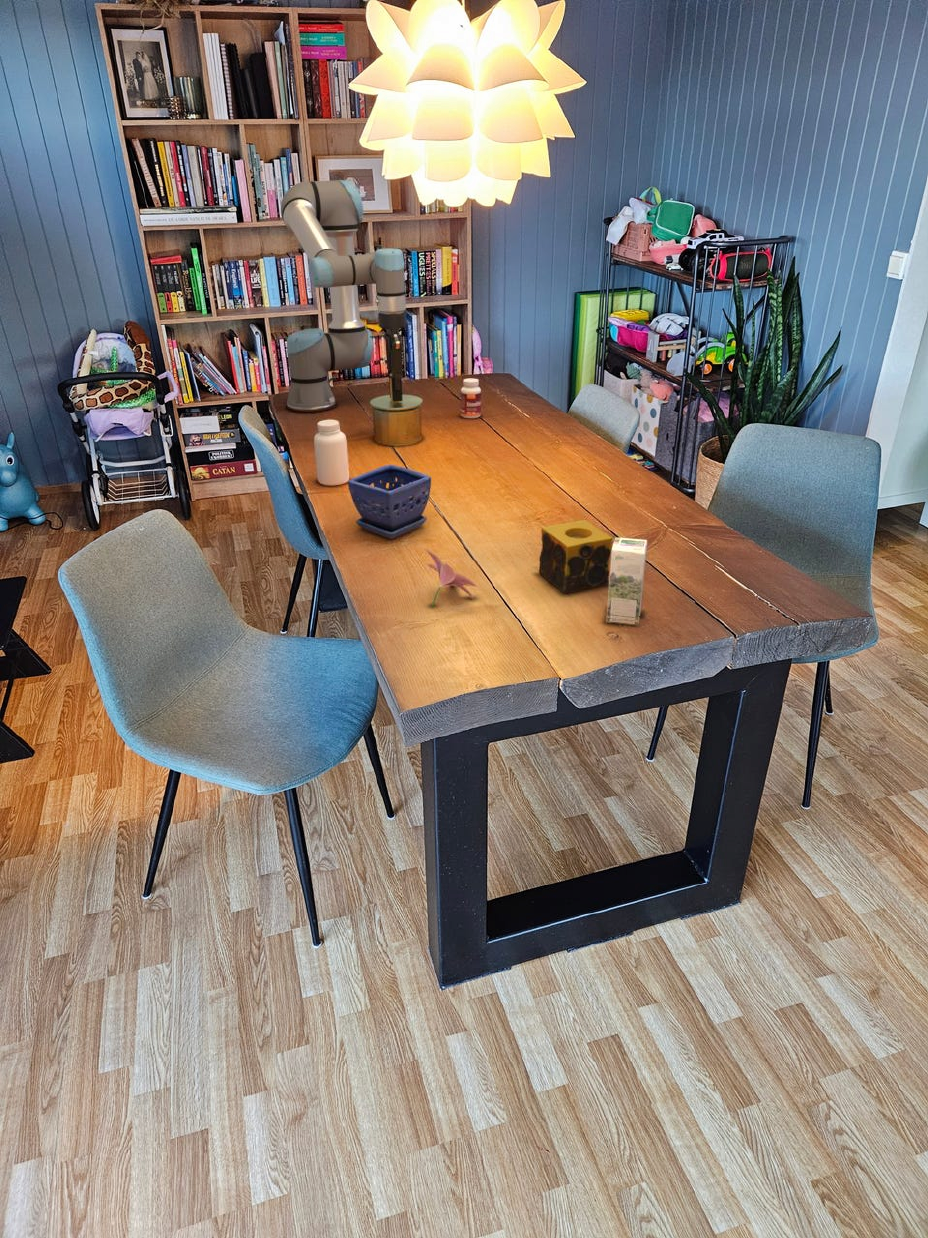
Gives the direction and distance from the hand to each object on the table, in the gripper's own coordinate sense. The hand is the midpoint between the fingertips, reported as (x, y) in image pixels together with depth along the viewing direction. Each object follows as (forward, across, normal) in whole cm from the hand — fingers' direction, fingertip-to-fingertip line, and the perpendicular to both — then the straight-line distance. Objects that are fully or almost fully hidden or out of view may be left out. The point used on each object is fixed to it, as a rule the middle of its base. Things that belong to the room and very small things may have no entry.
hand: (396, 399), depth 246 cm
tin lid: (+1, 0, 0) cm, 1 cm away
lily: (+12, +100, -10) cm, 101 cm away
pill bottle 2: (+12, -16, +26) cm, 33 cm away
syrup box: (+12, +116, +18) cm, 118 cm away
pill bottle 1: (+12, +30, -22) cm, 39 cm away
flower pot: (+12, +64, -14) cm, 66 cm away
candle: (+12, +99, +15) cm, 101 cm away
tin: (+11, 0, 0) cm, 11 cm away
